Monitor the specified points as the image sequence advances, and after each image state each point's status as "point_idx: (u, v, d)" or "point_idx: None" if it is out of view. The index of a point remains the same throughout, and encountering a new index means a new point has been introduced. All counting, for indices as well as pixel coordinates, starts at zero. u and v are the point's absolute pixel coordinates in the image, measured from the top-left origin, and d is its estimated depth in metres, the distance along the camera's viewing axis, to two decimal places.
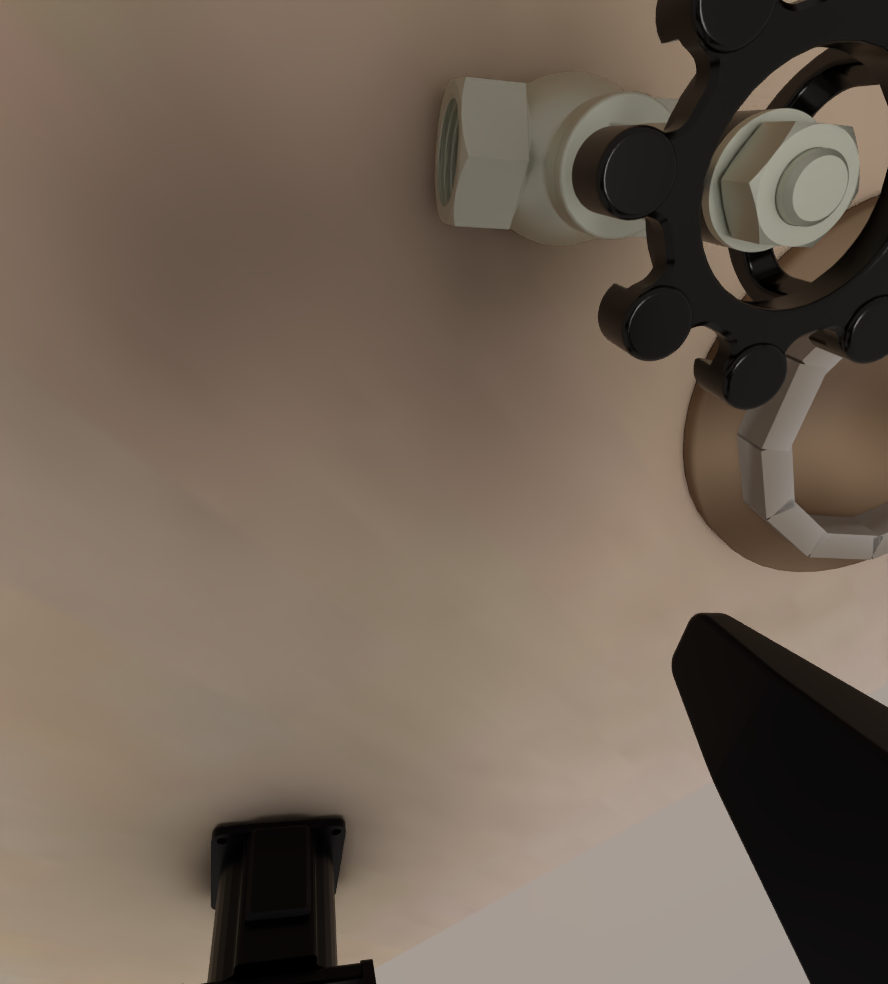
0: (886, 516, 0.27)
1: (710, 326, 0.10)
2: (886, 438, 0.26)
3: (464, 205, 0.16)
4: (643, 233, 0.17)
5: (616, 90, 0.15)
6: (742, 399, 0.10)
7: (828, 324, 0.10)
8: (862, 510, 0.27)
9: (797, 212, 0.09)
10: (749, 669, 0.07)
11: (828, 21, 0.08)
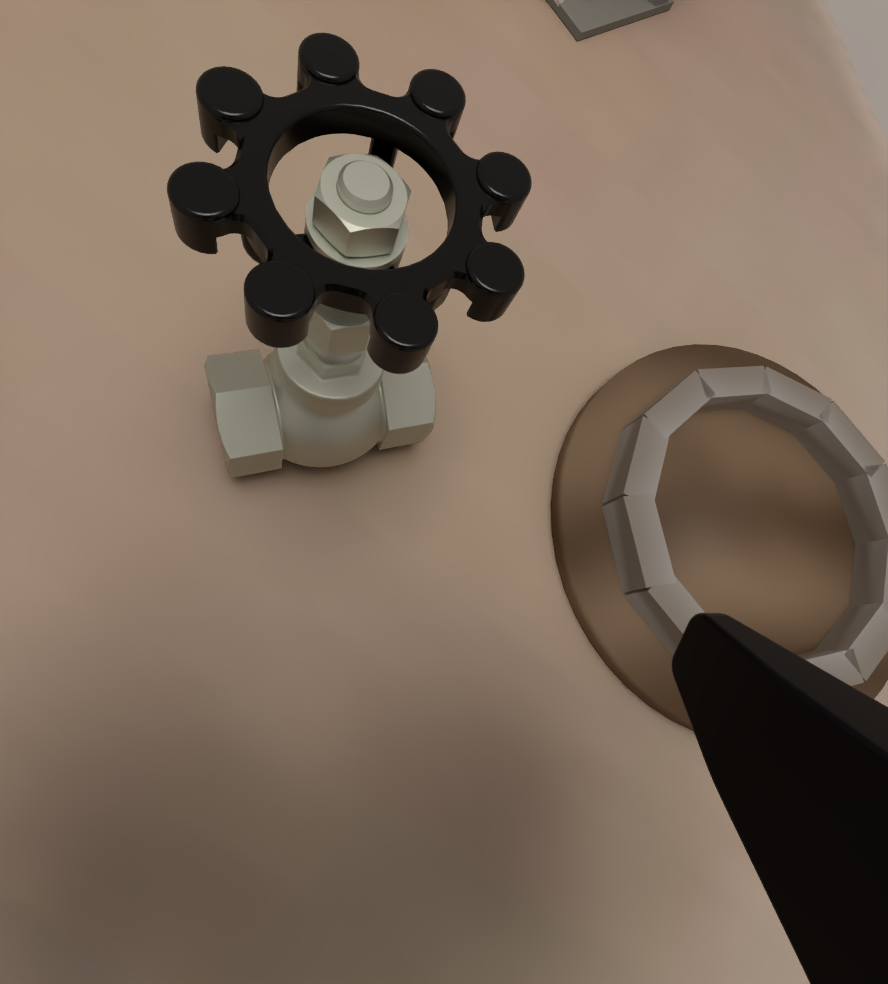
0: (842, 632, 0.24)
1: (337, 289, 0.10)
2: (775, 556, 0.25)
3: (231, 437, 0.18)
4: (406, 423, 0.20)
5: None
6: (403, 339, 0.10)
7: (447, 271, 0.11)
8: (818, 639, 0.24)
9: (357, 196, 0.11)
10: (749, 669, 0.07)
11: (309, 99, 0.11)
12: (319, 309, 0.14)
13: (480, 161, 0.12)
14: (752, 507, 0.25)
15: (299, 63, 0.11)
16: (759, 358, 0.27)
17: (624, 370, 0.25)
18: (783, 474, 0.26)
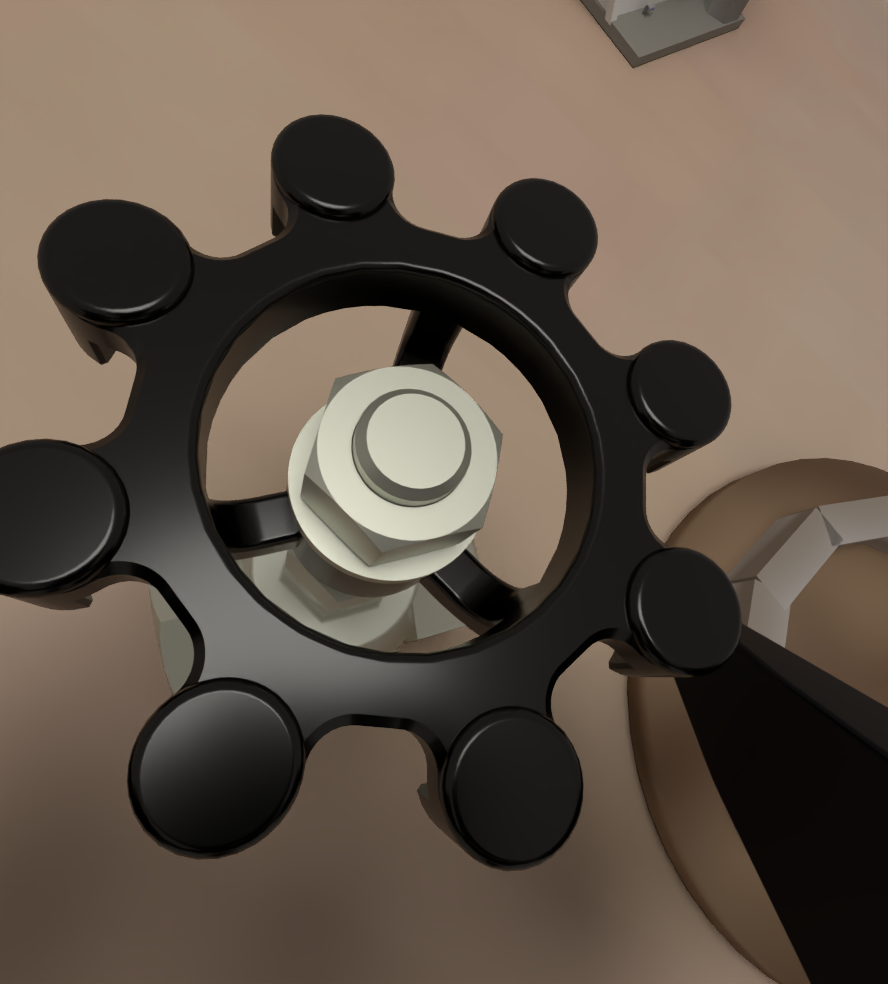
0: None
1: (357, 722, 0.05)
2: None
3: (185, 680, 0.12)
4: (442, 627, 0.14)
5: None
6: (513, 847, 0.04)
7: (592, 631, 0.05)
8: None
9: (397, 481, 0.05)
10: (749, 669, 0.07)
11: (293, 259, 0.05)
12: None
13: (635, 365, 0.06)
14: (887, 681, 0.19)
15: (273, 179, 0.06)
16: (879, 472, 0.21)
17: (716, 501, 0.19)
18: None
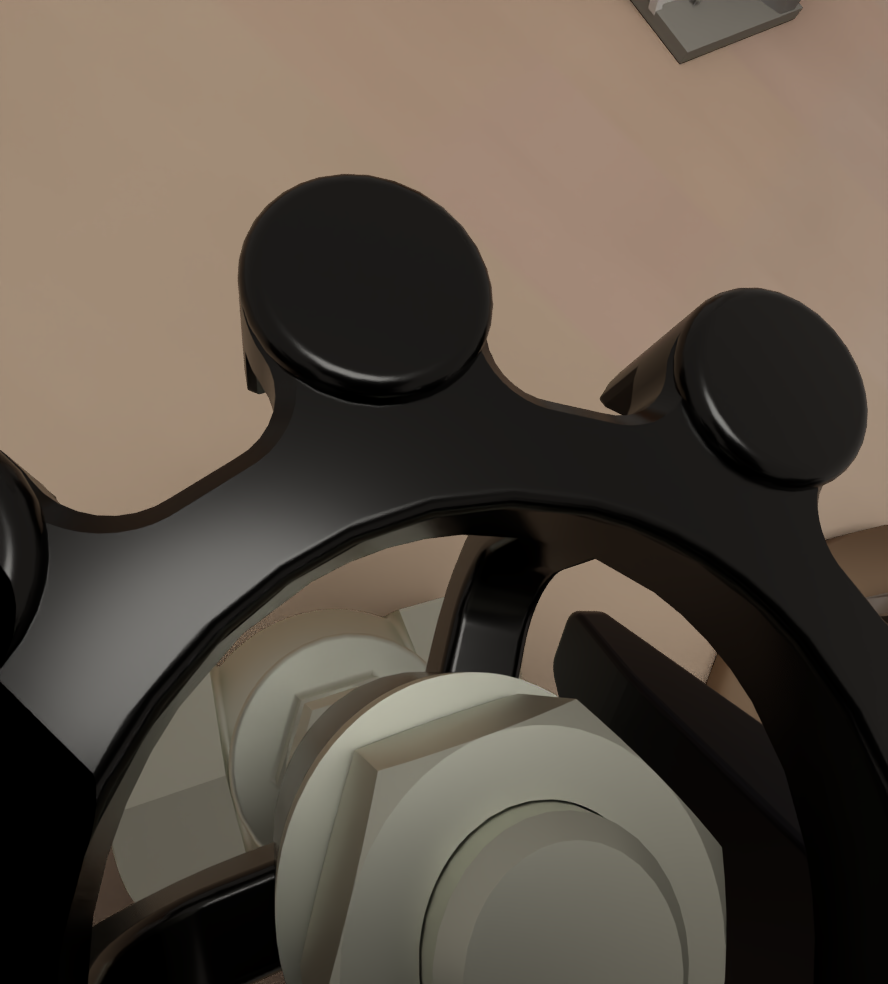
0: None
1: None
2: None
3: (146, 881, 0.09)
4: None
5: (346, 621, 0.11)
6: None
7: None
8: None
9: None
10: (611, 671, 0.07)
11: (286, 510, 0.02)
12: None
13: None
14: None
15: (243, 317, 0.03)
16: None
17: None
18: None
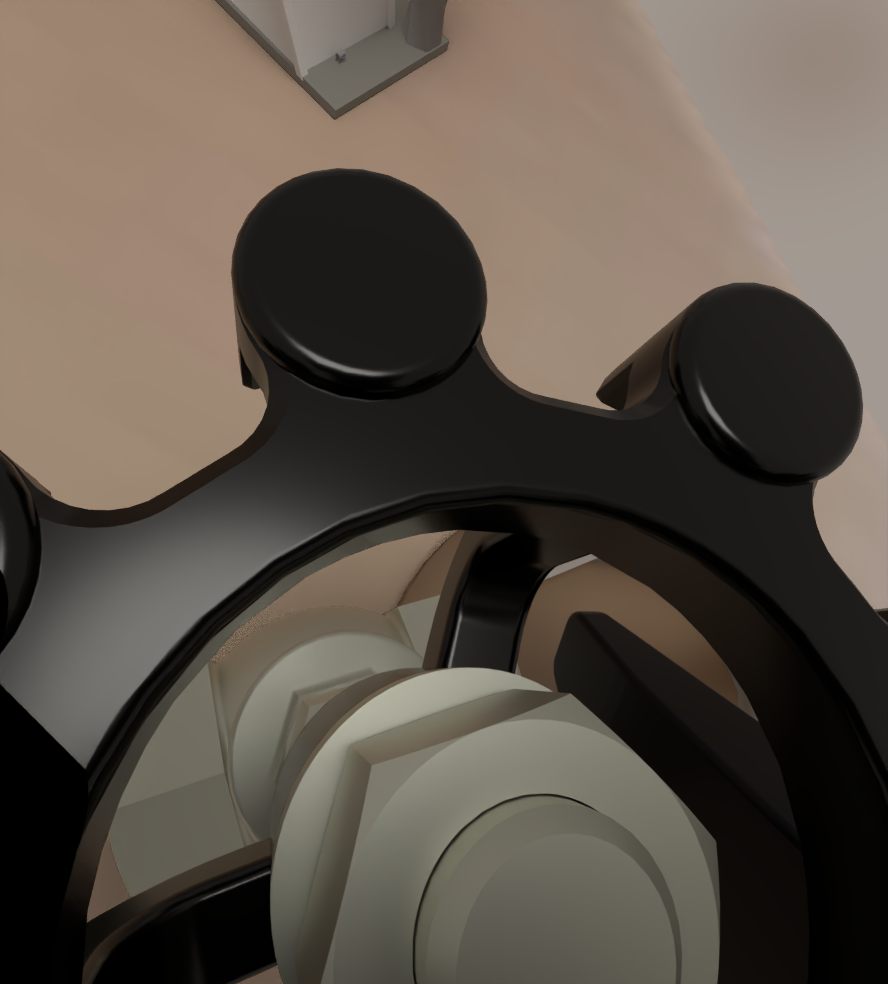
0: None
1: None
2: None
3: (146, 877, 0.09)
4: None
5: (344, 618, 0.11)
6: None
7: None
8: None
9: None
10: (611, 671, 0.07)
11: (280, 504, 0.02)
12: None
13: None
14: None
15: (237, 311, 0.03)
16: None
17: (436, 556, 0.21)
18: (644, 630, 0.22)
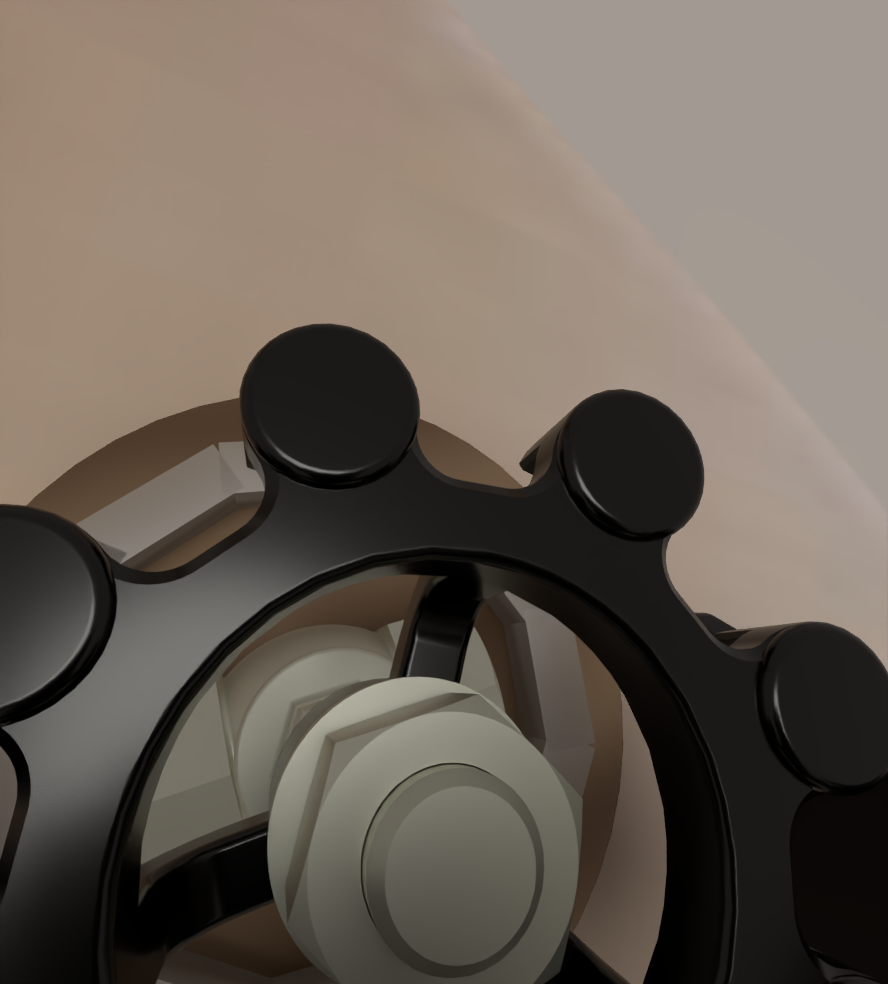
0: None
1: None
2: None
3: None
4: None
5: (339, 635, 0.12)
6: None
7: None
8: None
9: (434, 957, 0.03)
10: None
11: (272, 565, 0.04)
12: None
13: (768, 673, 0.04)
14: None
15: (243, 429, 0.04)
16: None
17: None
18: None
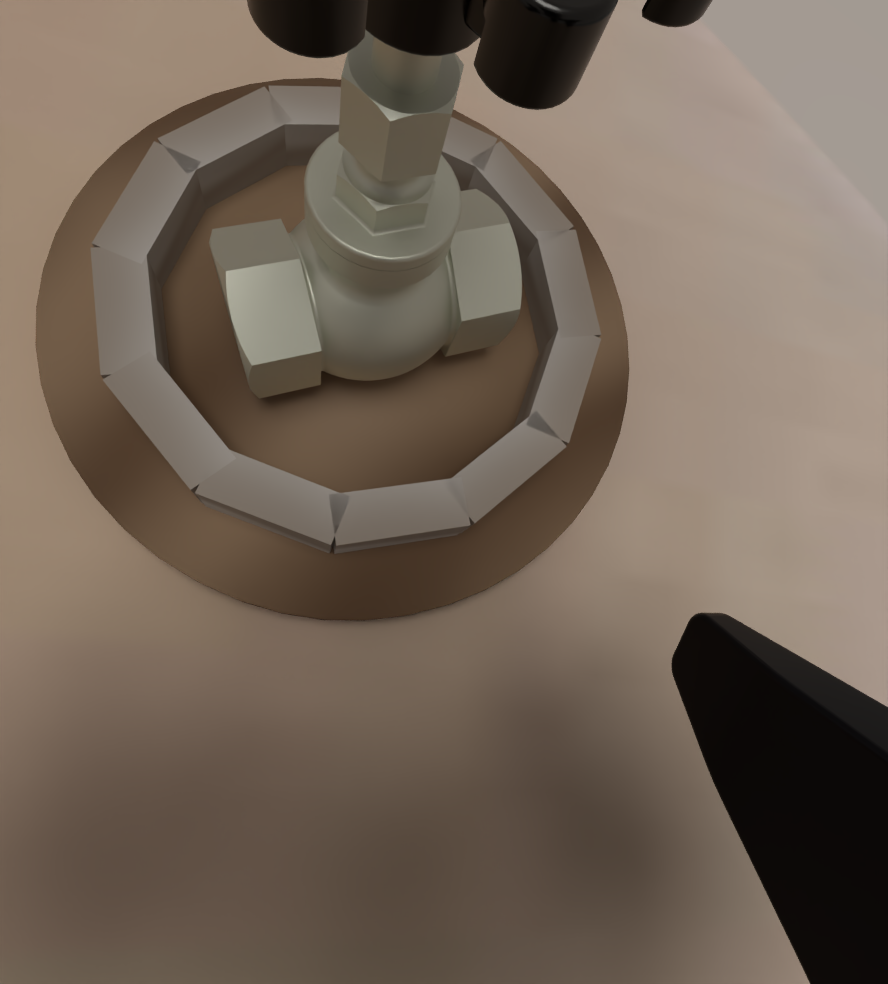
0: (530, 393, 0.17)
1: None
2: None
3: (250, 334, 0.13)
4: (484, 311, 0.14)
5: None
6: None
7: None
8: (511, 417, 0.17)
9: None
10: (749, 669, 0.07)
11: None
12: (369, 88, 0.09)
13: None
14: None
15: None
16: (289, 83, 0.18)
17: (81, 194, 0.16)
18: None
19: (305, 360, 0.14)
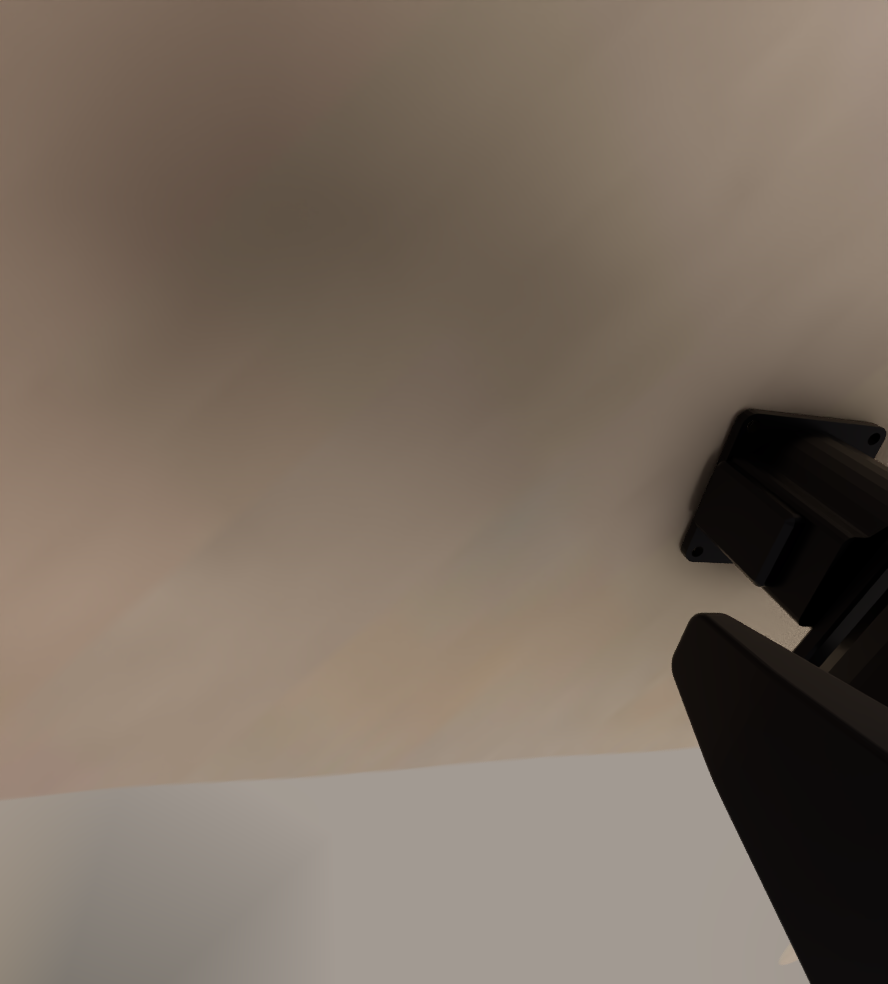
0: None
1: None
2: None
3: None
4: None
5: None
6: None
7: None
8: None
9: None
10: (749, 669, 0.07)
11: None
12: None
13: None
14: None
15: None
16: None
17: None
18: None
19: None
